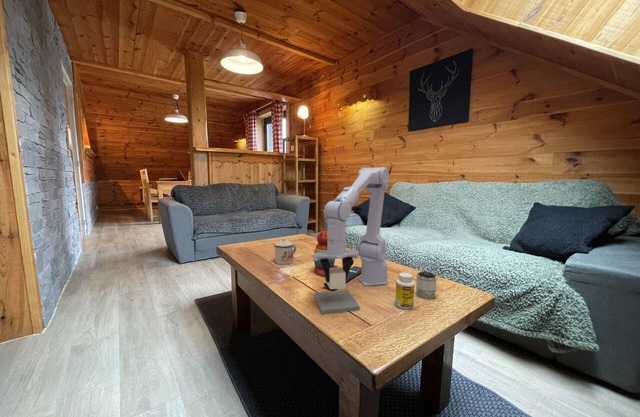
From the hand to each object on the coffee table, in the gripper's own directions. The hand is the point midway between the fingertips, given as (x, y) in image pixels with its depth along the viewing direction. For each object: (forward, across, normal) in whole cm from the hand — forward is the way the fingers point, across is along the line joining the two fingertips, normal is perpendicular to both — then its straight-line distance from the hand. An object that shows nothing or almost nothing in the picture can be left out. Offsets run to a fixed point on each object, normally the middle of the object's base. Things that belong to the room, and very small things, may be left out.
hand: (335, 280), depth 84 cm
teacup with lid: (+8, -12, +45) cm, 47 cm away
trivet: (+8, 0, 0) cm, 8 cm away
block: (+2, 0, 0) cm, 2 cm away
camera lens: (+8, +32, -1) cm, 33 cm away
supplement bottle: (+8, +21, -6) cm, 23 cm away
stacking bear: (+8, +3, +28) cm, 29 cm away
